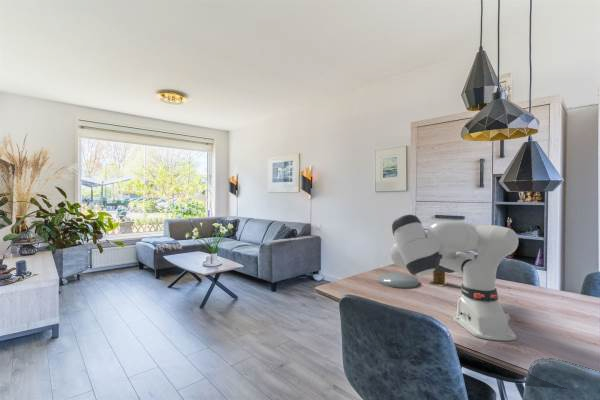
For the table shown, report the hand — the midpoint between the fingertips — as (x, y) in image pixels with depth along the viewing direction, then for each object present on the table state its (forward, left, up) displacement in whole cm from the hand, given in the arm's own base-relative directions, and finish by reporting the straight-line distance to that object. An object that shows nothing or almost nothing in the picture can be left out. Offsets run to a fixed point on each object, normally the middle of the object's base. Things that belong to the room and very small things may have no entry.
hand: (445, 253), depth 154 cm
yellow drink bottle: (+12, 0, -20) cm, 23 cm away
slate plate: (+12, +22, -20) cm, 32 cm away
